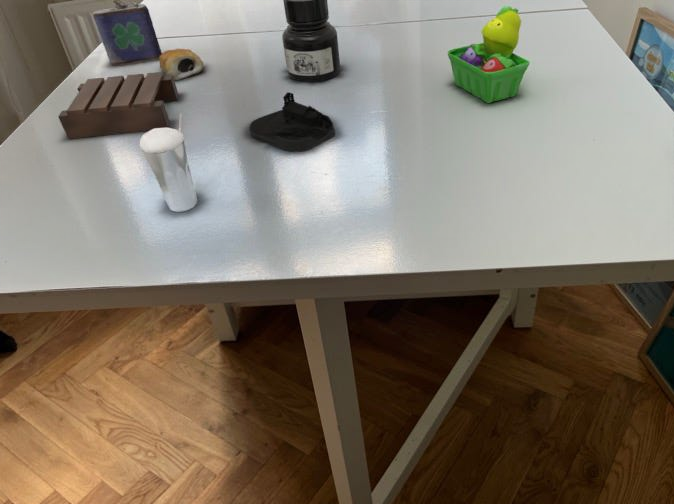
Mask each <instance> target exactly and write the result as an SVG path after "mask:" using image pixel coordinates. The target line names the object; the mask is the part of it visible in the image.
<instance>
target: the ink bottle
mask: <svg viewBox="0 0 674 504" xmlns="http://www.w3.org/2000/svg"><path fill="white" fill-rule="evenodd" d="M282 2H283V8H284V14H285V21H286V23H287V24H288V25H287V26H286V28H285V29H284V30H283V32H282V36H281V38H282V48H283V55H284V59H285V66H286V69H287V70H286V71H287V74H288V76H289V77H290V78H291V79H293V80H296V81H301V82H321V81H325V80H329V79H331V78H333V77H335V76H336V75H338V74H339V72H340V70H341V61H340V49H339V39H338V32H337V29H336V28H335V26H334V25H332V24H331V23H330V22H329V21H328V20H329V19H330V16H329V14H330V13H329V5H328V0H282Z"/></svg>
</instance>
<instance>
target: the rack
mask: <svg viewBox="0 0 674 504" xmlns="http://www.w3.org/2000/svg"><path fill="white" fill-rule="evenodd" d="M164 73H165V72H164V71H156V72H148V73H146V76H145V74H144V73H137V74H136V73H135V74H127V75H126V78H125V76H124V75H114V76H107V77H106V79H105V77H94V78H93V77H92V78H87V80H86V81H85V82H84V83H80V84H79V85H78V87H77V88H76V89H77V91H78V93H77V94H76V96H75V97H74V99H73V100H72V101H71V103H70V104H69V106H68V107H67V109H65V110H61V111H60V113H59V114H58V116H57V117H58V120H59V122H60V124H61V126H62V128H63V131H64V133H65V135H66V137H67V139H68V140H70V139H72V140H73V139H81V138H82V139H83V138H90V137H91V138H92V137H101V136H110V135H120V134H129V133H130V134H131V133H138V132H149V131H150V130H152V129H154V128H166V127H167V128H170V124H171V121H170V117H169V115H168V111H167V108H166V105H165V103H169V102H176V101H178V99H179V96H180V94H179V90H178V88H177V85H176V80H174V77H173V75H166V74H164Z"/></svg>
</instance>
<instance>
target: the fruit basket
mask: <svg viewBox="0 0 674 504" xmlns="http://www.w3.org/2000/svg"><path fill="white" fill-rule="evenodd" d="M518 13H519V9H517V8H513V7H511V6H510V5H508V6H503V7H502V8H501V9H500V10H499V11H498V12H497V14H496V15H495V17H494V18H492V19H491V20H489V21H487V23H486V24H484V26H483V27H482V29H481V35H482V41H483V42H481V43H471V44H469V45H466V46H460V47H456V48H452V49H449V50H447V52H446V53H447V56H448V59H449V61H450V66H451V71H452V75H453V79H454V85H456V86H457V87H459V88H461V89H463V90H464V91H466V92H468V93H470V94H472V95H473V96H474V97H476V98H478V99H480V100H482V101H483V102H484V103H487V104H491V103H493V102H499V101H501V100H506V99H509V98H513V97H516V96H517V93H518V91H519V88H520V86H521V83H522V80H523V77H524V75H525V72H526V70H528V67H529V65H530V63H531V62H530V61H529V60H527V59H526V58H523V57H521V56H520V55H517V54H515V53H513V52H514V50H515V49H516V48H517V45H518V43H519V39H520V29H521V25H522V19H521V17H520V15H519V14H518Z"/></svg>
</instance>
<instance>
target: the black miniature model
mask: <svg viewBox="0 0 674 504" xmlns="http://www.w3.org/2000/svg"><path fill="white" fill-rule="evenodd" d="M294 95H295V94H294V93H292V92H289V91H287V92H286V93H285V94H284V95H283V97H282V98H283V105H282V107H281V109H280V110H277V111H274V112H271V113H269V114H265V115H263V116H261V117H258V118H256V119H254V120H252V121H251V122H250V124H249V127H248V129H249V134H250V136H251V138H253V139H255V140H257V141H260V142H263V143H265V144H268V145H270V146H272V147H274V148H278V149H280V150H281V151H285V152H289V153H290V152H293V153H297V152H299V153H301V152H306V151H309V150H311V149H313V148H315V147H317V146H319V145H321V144H322V143H324V142H326V141H328V140H330V139H332V138H333V137H335V135H336V130H335V127H334V123H333V121H332V119H331V118H330V117H329V115H326V114H324V113H323V112H320V111H319V110H318V109H315V107H313V106H312V105H311V106H310V105H305V104H302V103H299V102H297V101H296V100H295V97H294Z"/></svg>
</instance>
